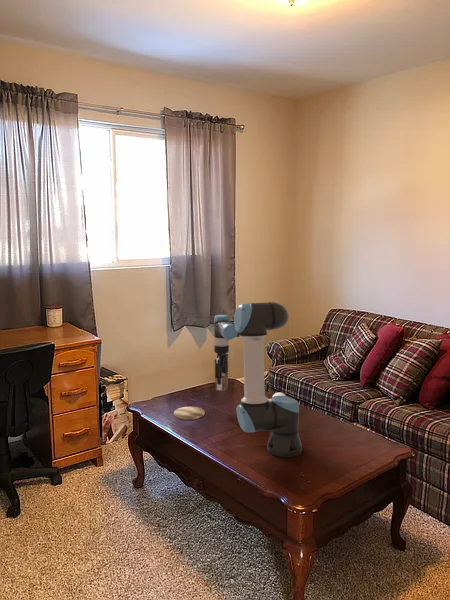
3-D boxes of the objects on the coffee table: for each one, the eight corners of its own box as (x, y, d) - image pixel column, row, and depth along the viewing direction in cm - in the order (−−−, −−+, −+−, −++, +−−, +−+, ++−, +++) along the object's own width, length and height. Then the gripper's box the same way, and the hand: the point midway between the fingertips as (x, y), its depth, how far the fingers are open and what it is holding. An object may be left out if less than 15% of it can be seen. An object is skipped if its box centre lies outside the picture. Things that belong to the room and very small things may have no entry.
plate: (197, 421, 244) (197, 420, 244) (168, 417, 249) (168, 415, 249) (209, 410, 258) (209, 408, 258) (182, 406, 264) (182, 404, 264)
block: (224, 390, 253) (224, 376, 252) (215, 389, 255) (215, 374, 254) (227, 388, 258) (227, 373, 256) (219, 386, 259) (218, 372, 258)
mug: (286, 406, 264) (287, 392, 263) (287, 413, 254) (287, 398, 253) (264, 405, 265) (264, 391, 264) (264, 412, 256) (264, 398, 254)
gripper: (221, 349, 243) (222, 394, 246) (234, 341, 260) (234, 384, 263) (208, 348, 246) (208, 392, 249) (221, 340, 262) (221, 382, 266)
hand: (221, 388), depth 256 cm, fingers closed on block, 5 cm apart
